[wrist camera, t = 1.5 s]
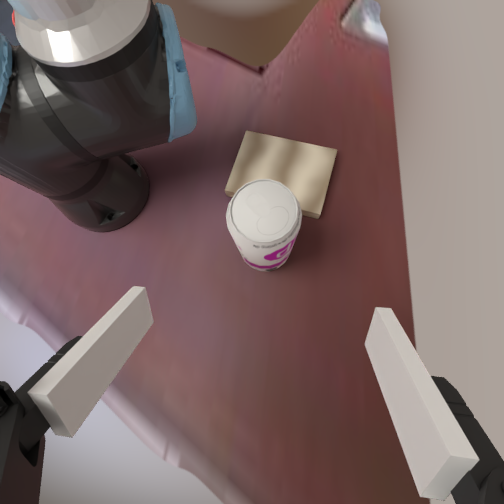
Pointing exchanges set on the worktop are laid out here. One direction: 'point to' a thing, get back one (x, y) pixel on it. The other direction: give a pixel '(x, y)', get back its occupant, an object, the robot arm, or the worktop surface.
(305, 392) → the worktop surface
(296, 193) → the birch board
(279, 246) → the supplement can
